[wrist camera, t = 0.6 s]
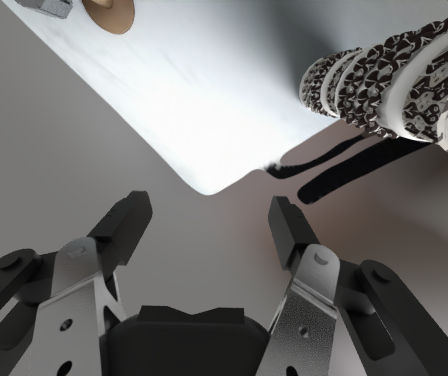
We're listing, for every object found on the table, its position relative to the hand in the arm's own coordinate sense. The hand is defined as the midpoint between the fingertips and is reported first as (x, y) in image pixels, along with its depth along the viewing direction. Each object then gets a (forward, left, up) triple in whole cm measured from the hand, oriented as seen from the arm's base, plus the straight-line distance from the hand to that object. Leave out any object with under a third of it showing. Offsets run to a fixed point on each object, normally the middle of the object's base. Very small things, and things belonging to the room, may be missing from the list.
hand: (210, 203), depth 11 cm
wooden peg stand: (-20, -13, -27) cm, 35 cm away
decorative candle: (-3, +19, -27) cm, 33 cm away
